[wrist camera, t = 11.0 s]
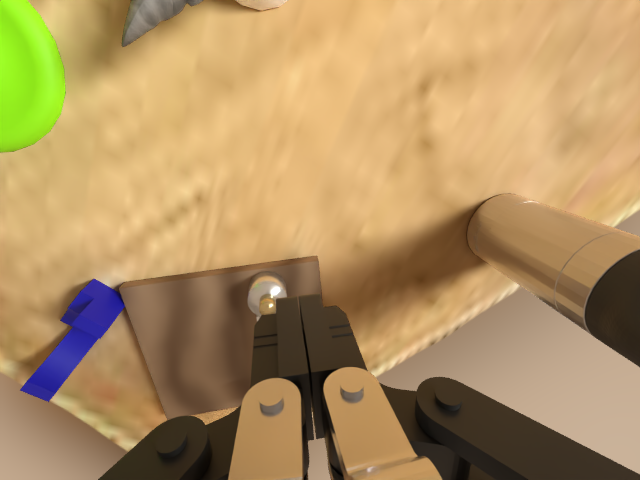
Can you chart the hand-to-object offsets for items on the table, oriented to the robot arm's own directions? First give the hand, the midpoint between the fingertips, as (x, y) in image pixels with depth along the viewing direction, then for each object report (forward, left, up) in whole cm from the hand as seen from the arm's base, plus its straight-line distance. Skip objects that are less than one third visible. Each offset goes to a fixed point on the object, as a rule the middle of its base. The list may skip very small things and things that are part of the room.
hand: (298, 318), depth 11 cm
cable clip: (+25, +15, -27) cm, 40 cm away
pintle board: (+8, +21, -27) cm, 35 cm away
